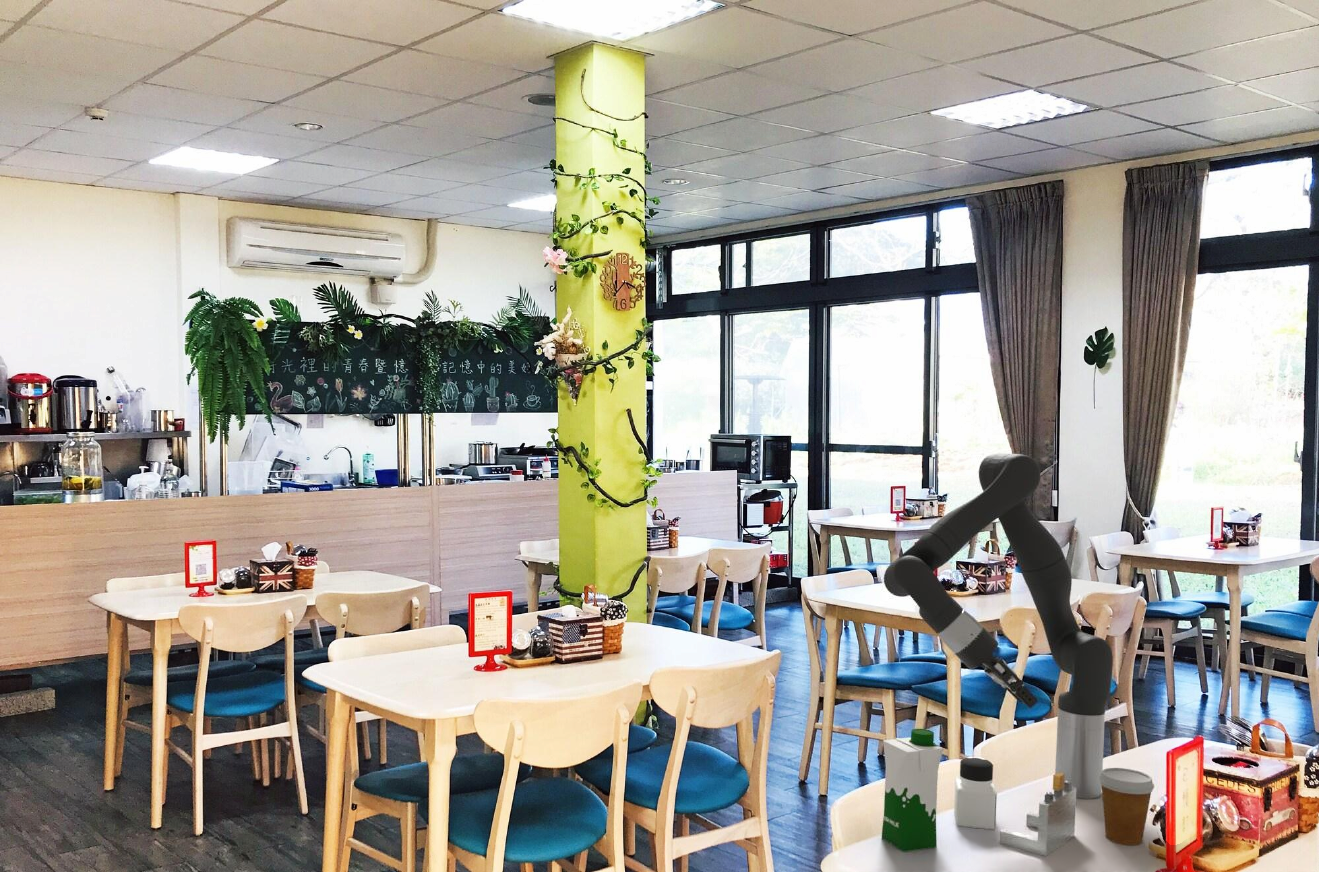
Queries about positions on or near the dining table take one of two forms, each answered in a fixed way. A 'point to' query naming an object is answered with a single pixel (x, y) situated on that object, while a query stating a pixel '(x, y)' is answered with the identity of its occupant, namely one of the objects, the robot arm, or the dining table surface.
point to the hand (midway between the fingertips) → (1029, 701)
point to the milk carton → (911, 791)
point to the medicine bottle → (975, 794)
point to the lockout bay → (1048, 820)
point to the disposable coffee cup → (1125, 804)
